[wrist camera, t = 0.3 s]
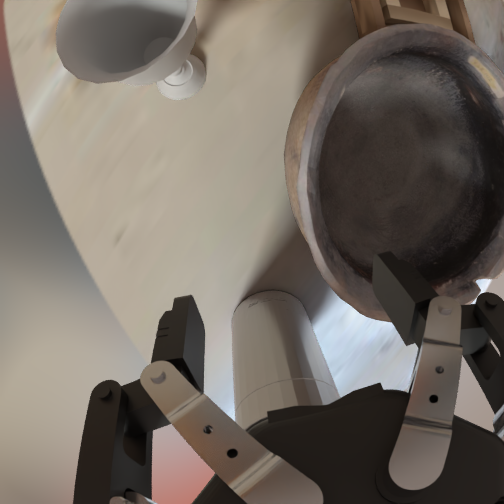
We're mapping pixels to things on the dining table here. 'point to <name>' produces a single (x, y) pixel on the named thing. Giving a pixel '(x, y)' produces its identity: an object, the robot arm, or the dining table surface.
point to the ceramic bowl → (401, 163)
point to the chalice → (132, 43)
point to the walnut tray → (377, 21)
